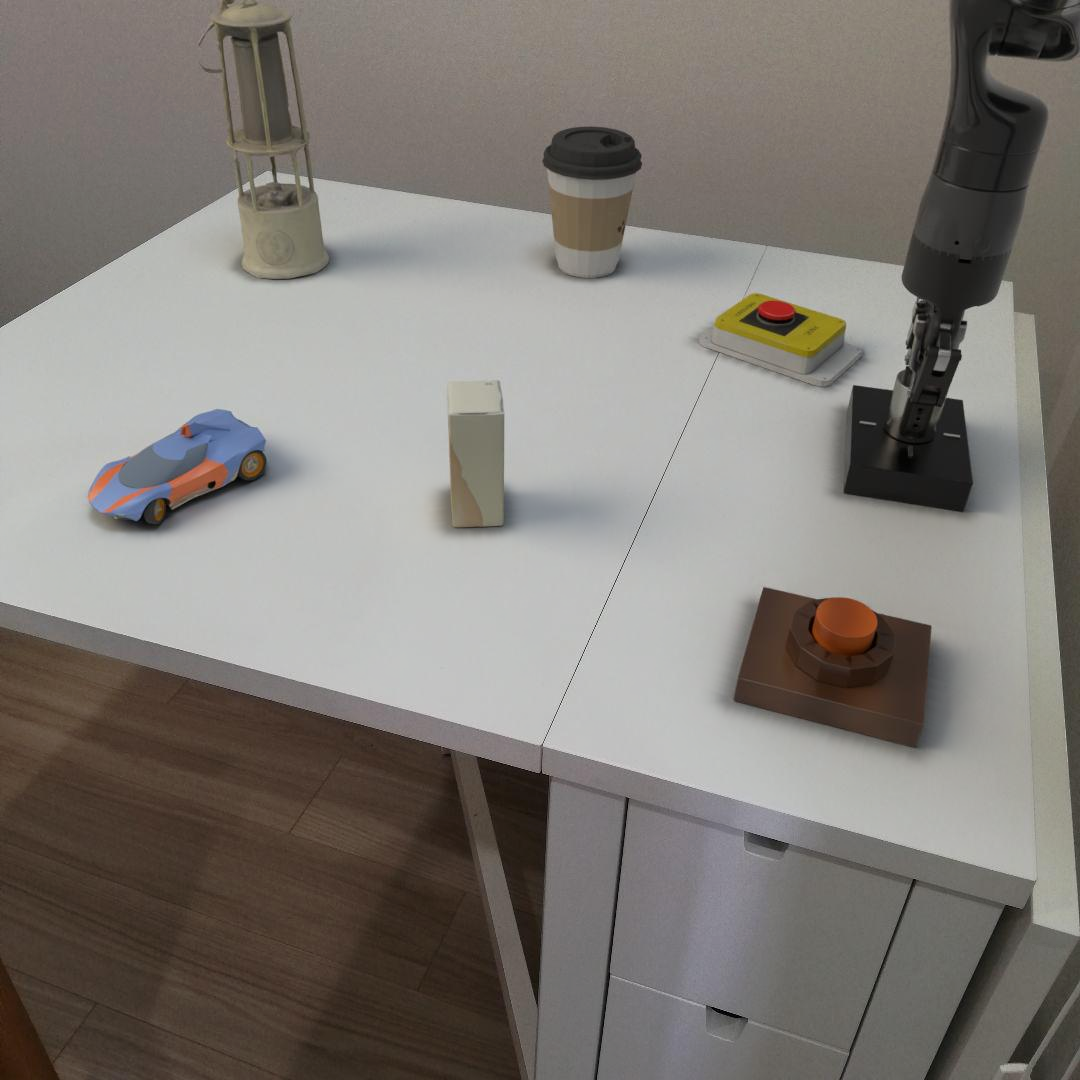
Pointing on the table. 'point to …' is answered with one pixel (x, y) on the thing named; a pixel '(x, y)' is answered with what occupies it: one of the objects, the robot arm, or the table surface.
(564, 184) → the coffee cup
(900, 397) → the hob knob
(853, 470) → the panel
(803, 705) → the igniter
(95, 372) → the table surface
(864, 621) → the button
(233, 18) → the lamp
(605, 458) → the table surface
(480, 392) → the box
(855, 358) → the emergency button
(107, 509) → the toy car
